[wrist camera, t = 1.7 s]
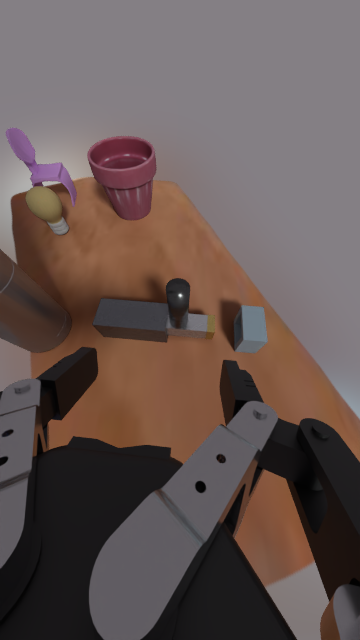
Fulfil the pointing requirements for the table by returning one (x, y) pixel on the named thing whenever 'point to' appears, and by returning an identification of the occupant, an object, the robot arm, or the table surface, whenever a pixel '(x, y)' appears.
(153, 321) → the sleeve
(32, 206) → the light bulb
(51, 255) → the table surface
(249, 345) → the socket
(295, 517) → the table surface
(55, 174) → the toy chair
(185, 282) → the block with knob
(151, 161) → the plant pot
